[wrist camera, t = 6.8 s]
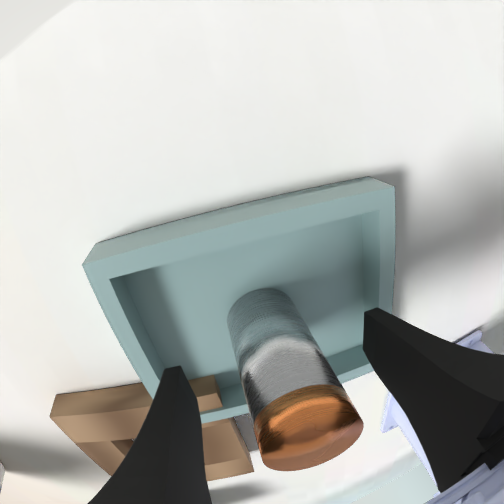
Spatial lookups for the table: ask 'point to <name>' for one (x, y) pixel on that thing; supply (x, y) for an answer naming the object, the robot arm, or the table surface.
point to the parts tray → (249, 280)
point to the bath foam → (1, 474)
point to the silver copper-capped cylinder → (289, 384)
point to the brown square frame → (130, 422)
